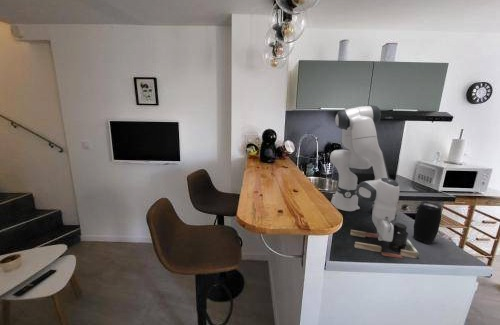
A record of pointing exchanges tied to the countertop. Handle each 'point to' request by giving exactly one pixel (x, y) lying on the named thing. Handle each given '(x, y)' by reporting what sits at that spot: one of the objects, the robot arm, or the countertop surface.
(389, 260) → the countertop surface
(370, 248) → the channel
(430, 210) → the portable speaker
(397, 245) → the supplement bottle
